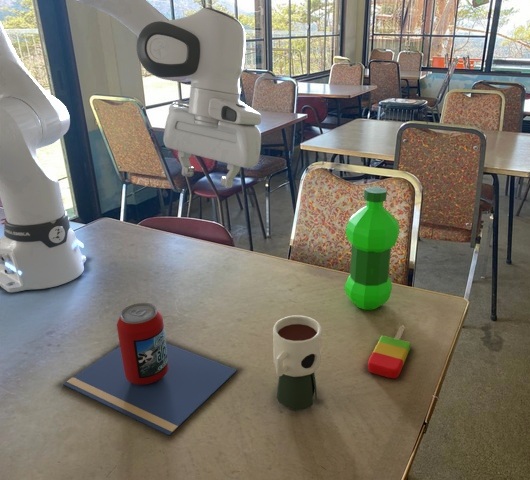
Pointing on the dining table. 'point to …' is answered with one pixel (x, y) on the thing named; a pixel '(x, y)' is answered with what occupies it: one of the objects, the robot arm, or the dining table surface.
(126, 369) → the beverage can
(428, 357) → the dining table surface
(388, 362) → the popsicle
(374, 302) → the plastic bottle
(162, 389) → the blue book
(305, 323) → the character mug
